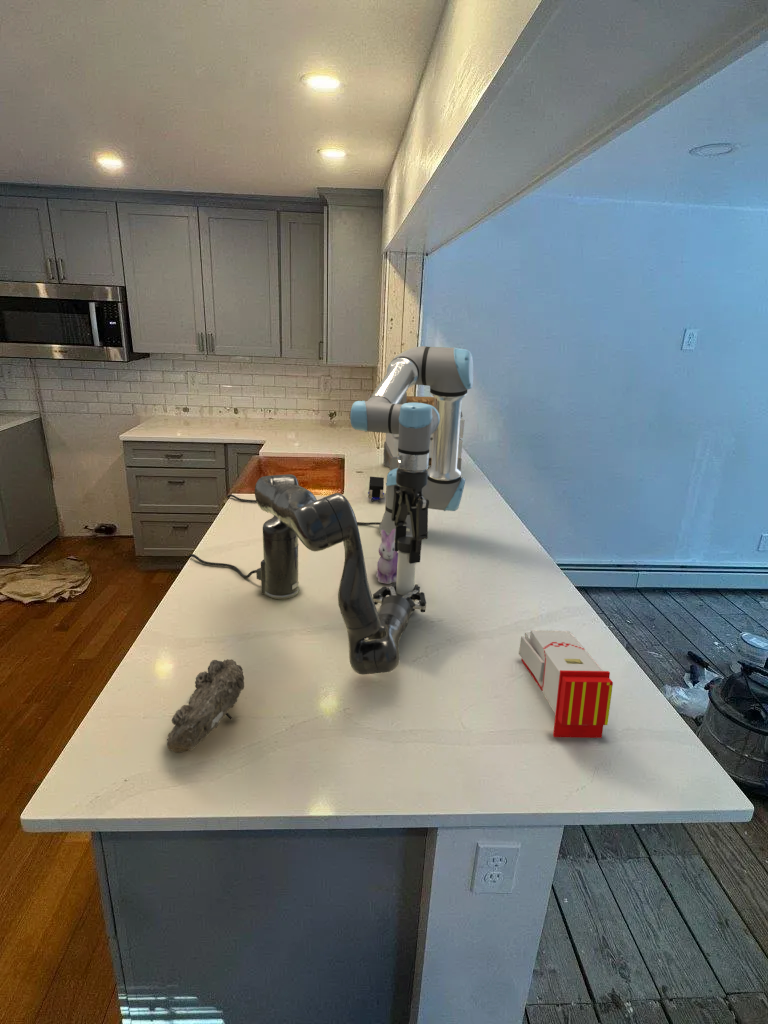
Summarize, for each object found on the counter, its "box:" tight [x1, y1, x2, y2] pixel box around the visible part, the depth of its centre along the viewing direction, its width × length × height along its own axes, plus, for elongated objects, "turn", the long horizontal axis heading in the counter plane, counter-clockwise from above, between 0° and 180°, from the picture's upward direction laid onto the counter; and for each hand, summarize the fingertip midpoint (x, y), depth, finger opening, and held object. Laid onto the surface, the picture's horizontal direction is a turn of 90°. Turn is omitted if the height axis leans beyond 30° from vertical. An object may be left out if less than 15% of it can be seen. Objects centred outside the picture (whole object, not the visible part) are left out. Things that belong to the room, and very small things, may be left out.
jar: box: [396, 550, 417, 595], centre depth 146 cm, size 5×5×20 cm
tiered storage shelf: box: [383, 392, 465, 473], centre depth 268 cm, size 34×33×41 cm
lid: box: [397, 536, 413, 553], centre depth 143 cm, size 5×5×2 cm
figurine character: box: [367, 476, 385, 503], centre depth 235 cm, size 7×8×15 cm
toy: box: [518, 629, 614, 739], centre depth 118 cm, size 12×13×30 cm
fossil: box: [166, 658, 245, 754], centre depth 106 cm, size 22×10×15 cm
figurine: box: [375, 529, 398, 585], centre depth 164 cm, size 9×10×15 cm
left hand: (406, 586), depth 149 cm, fingers closed on jar, 4 cm apart
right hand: (407, 556), depth 144 cm, fingers open, 7 cm apart
